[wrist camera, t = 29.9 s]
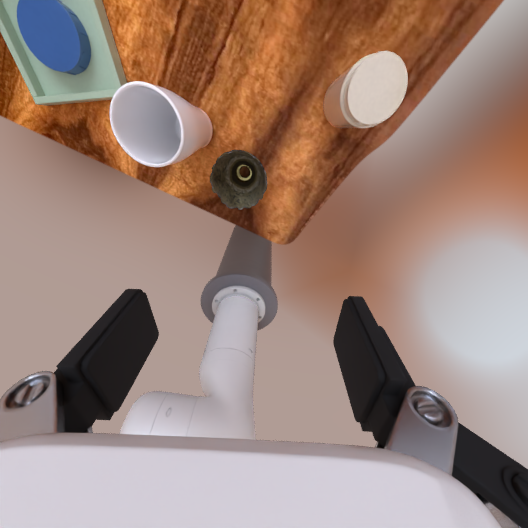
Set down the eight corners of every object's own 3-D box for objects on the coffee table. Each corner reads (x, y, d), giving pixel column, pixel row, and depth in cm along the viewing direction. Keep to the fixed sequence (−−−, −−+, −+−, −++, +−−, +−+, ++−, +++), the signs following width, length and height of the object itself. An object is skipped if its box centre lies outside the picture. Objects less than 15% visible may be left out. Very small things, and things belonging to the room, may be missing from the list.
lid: (23, -9, 26) (6, -18, 24) (84, 7, 26) (72, -1, 25) (42, 67, 29) (28, 64, 28) (96, 80, 30) (85, 77, 28)
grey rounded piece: (212, 162, 35) (198, 170, 28) (252, 135, 33) (246, 137, 26) (238, 203, 38) (231, 219, 32) (276, 181, 36) (276, 193, 30)
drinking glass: (164, 130, 33) (95, 131, 20) (188, 87, 30) (126, 56, 18) (202, 163, 35) (162, 183, 22) (227, 126, 33) (199, 124, 20)
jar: (365, 126, 32) (402, 125, 23) (321, 130, 32) (341, 130, 23) (373, 70, 29) (419, 44, 20) (324, 75, 29) (348, 51, 20)
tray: (131, 97, 31) (124, 95, 30) (47, 105, 32) (35, 104, 30) (89, -44, 25) (76, -56, 23) (-16, -29, 25) (-35, -40, 24)
